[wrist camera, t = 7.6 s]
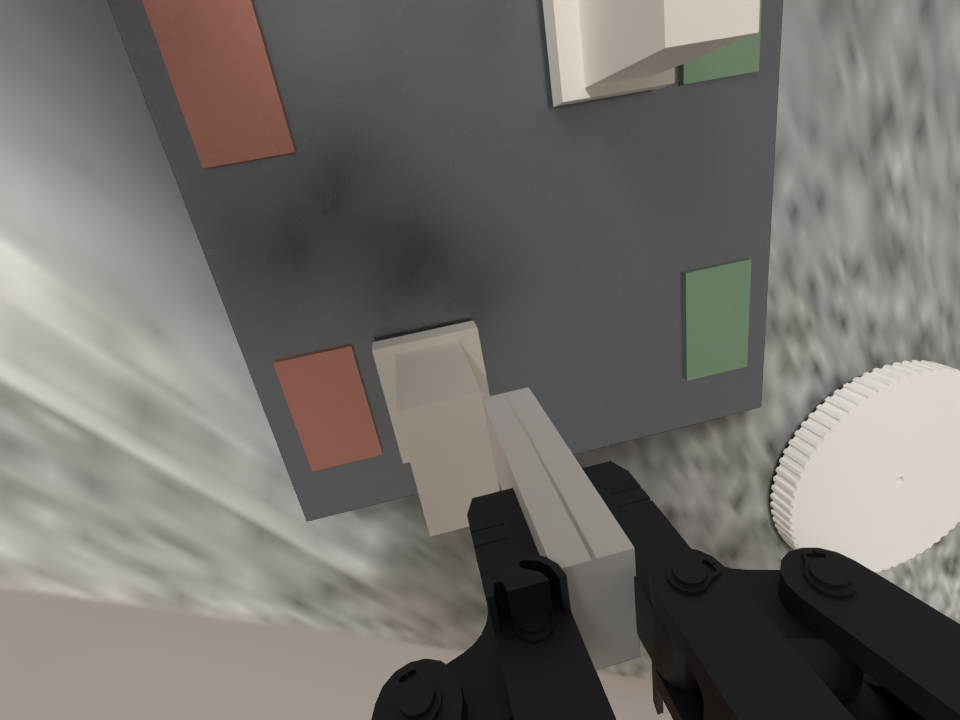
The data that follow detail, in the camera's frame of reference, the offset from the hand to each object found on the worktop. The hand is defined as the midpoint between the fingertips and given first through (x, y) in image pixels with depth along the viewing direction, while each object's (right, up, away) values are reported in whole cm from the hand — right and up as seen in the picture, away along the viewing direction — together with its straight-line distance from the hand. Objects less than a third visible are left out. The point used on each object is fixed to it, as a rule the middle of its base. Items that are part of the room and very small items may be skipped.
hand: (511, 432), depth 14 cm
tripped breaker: (-3, +1, +5) cm, 6 cm away
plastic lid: (+23, -4, +16) cm, 28 cm away
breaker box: (0, +8, +7) cm, 11 cm away
